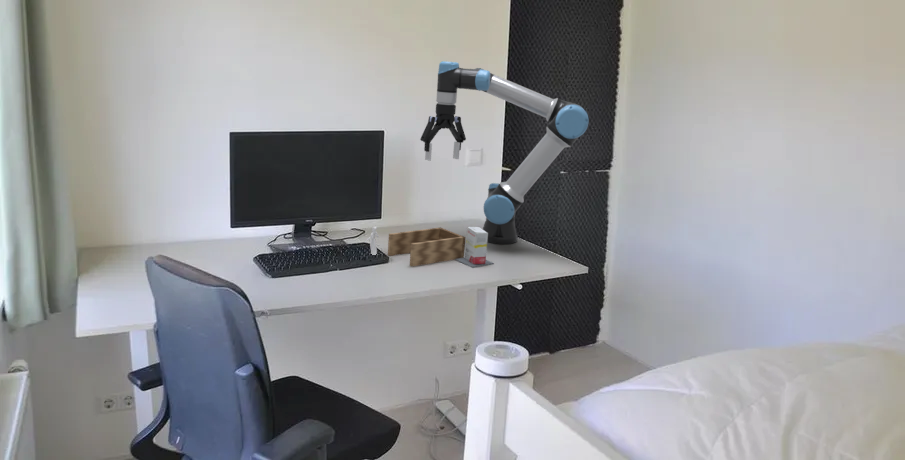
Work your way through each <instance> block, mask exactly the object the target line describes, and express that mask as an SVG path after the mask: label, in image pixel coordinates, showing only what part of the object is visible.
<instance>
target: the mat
mask: <svg viewBox="0 0 905 460" xmlns="http://www.w3.org/2000/svg"><path fill="white" fill-rule="evenodd" d="M454 261H456V262H459V263H461V264H464V265H466V266H468V267H470V268H472V269H473V268H479V267H484V266H491V265H494V262H492V261H490V260H488V259H486V261H485V264H473V263H471V262H470V261H468V260H467V259H466V258H465V256H464V258H458V259H455V260H454Z"/></svg>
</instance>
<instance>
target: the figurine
mask: <svg viewBox="0 0 905 460" xmlns="http://www.w3.org/2000/svg"><path fill="white" fill-rule="evenodd" d="M379 238H380V237H379V233H378V232H377V226H376V225H374V226H372V228H371V233H370V236H369V237H367V238H366V240H365V241H364V243H367V241H369V246H370V254H372V255H376V254H377V255H378V249H377V240H379ZM376 239H377V240H376Z"/></svg>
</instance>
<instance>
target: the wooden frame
mask: <svg viewBox="0 0 905 460" xmlns="http://www.w3.org/2000/svg"><path fill="white" fill-rule="evenodd" d="M466 237H467V236H463V235H461V234H458V233H456V232H453V231H450V230H449V229H446V228H443V227H441V226H440V227H432V228H425V229H417V230H410V231H409V230H407V231H402V232H393V233H388V239H387V241H388V244H387V245H388V246H387V256H389V257H391V256H398V255H404V254H409V266H410V267H416V266H422V265H429V264H436V263H442V262H448V261H453V260H454V261H456V260H455V259H458V258H464V257H465V248H466Z"/></svg>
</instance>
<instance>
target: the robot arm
mask: <svg viewBox="0 0 905 460" xmlns="http://www.w3.org/2000/svg"><path fill="white" fill-rule="evenodd" d="M436 85H437V86H436V87H437V88H436V100H435V101H436V103H435V116H433V115H430V116H428V121H427V124H426V126H425V128H424V130H423V133H422V135H421V137H420V139H419V140H420V141H421V142H423V143H424V147H423V149H424V152H425V155H424V160H425V161H429V162H430V161H431V160H432V150H433V148H432V147H433V143H431V142H432V141H433V139H434V138H435V136H436V135H437V134H438V133H439V132H440V130H442V129H443V130H444V129H447V130H449V131H450V133H451V134H452V136H453V138H454V139H455V141H454V142H453V154H452V158H453V159H454V160H459V159H460V151H461V149H462V143H464V141H466V140H467V138H466V135H465V132H464V127H463V124H462V117H461V116H457V115H456V112H457V111H456V110H457V108H456V107H457V106H456V104H457V98H458V96H457V95H458V94H457V93H458V89H463V90H470V91H471V90H472V91H479V92H480V91H481V92H483V93H487V94H489V95H492V96H493V97H496V98H498V99H501V100H503V101H506V102H507V103H511V104H513V105H514V106H517V107H519V108H522V109H523V110H527V111H529V112H531V113H533V114H536V115H538V116H540V117H543V118H545V120H546V122H548V125H546V133H545V134H544V135H543V137H542V138H541V139H540V141H539V142H538V143H537V144H536V145H535V146H534V148H533V149H532V150H531V151H530V152H529V153H528V155H527V156H526V157H525V159H524V160H523V161H522V162H521V163H520V164H519V166H518V167H517V168H516V169H515V171H514V172H513V173H512V174H511V175H510V177H508V179H507V180H506V181H502V182H499V183H496V182H495V183H494V182H493V183H490V184H488V189H487V191H488V192H487V193H488V194H487V198H486V199H485V201H484V203H483V214H484V215H485V221H484V224H483V225H482V226H483V227H482V229H483V230H484V231H486V232H487V233H488V239H487V243H491V244H499V245H509V244H510V245H511V244H515V243H516V242H518V233H517V228H516V223H515V222H516V221H515V219H516V212H517V211H518V210H519V208H520V207H521V206H522V205H523V203H525V201H524V199H525V195H526V194H527V193H528V191H529V190H531V188H532V187H533V185H534V184H535V183H536V182H537V180H538V179H540V177H542V174H544V173H545V171H546V170H547V169H548V168H549V167H550V165H551V164H552V163H553V162H554V161H555V159H557V157H558V156H559V154H560V153H561V152H562V151H563V150H564V149H565V148H571V147H572V146H573V144H574V143H575V142H576V141H577V140H578V138H580V137H582V136H583V135H584V134H585V132H586V131H587V129H588V127H589V123H590V122H589V121H590V120H589V115H588V112H587V110H585V108H584V107H583V106H581V105H580V104H578V103H574V102H571V101H565V100H563V99H560V98H558V97H556V98H552V97H549V96H546V95H545V94H541V93H539V92H537V91H535V90H532V89H530V88H527V87H525V86H524V85H523V86H522V85H520V84H518V83H516V82H513V81H510V80H509V79H505V78H503V77H501V76H499V75H496V74H494V73H492V72H491V71H489V70H486V69H483V68H481V67H476V68H463V67H460V64H459V62H457V61H441V62H439V64H438V72H437V84H436Z"/></svg>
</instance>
